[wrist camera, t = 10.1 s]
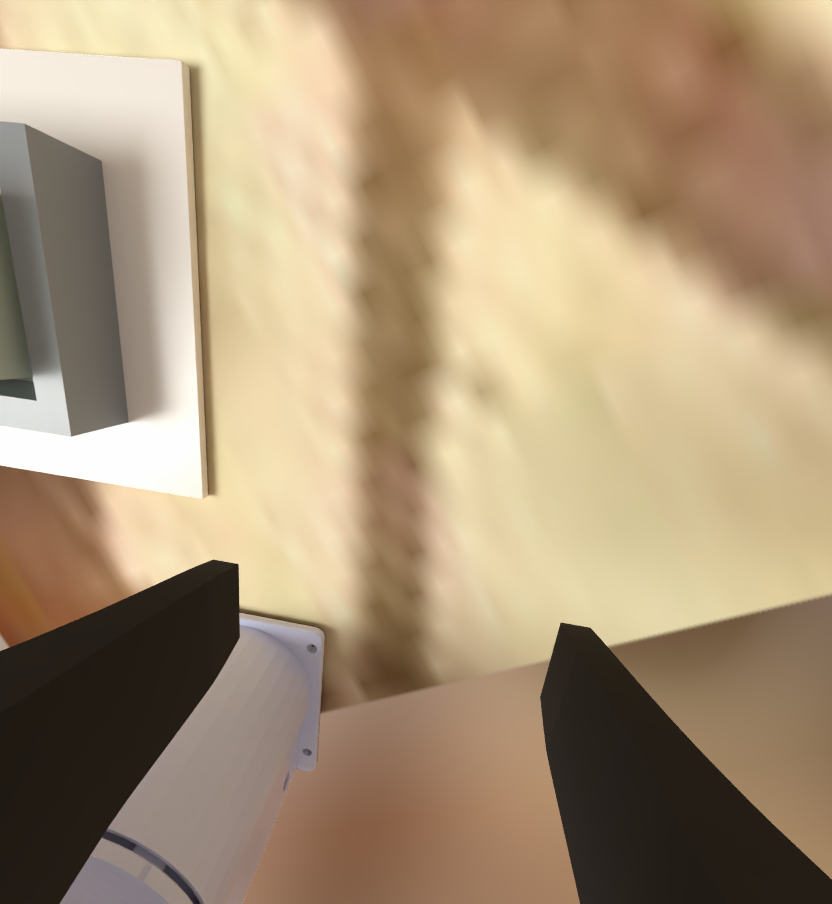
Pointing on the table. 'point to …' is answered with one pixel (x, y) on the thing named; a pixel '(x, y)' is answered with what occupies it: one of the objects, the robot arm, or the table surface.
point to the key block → (10, 314)
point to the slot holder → (103, 270)
